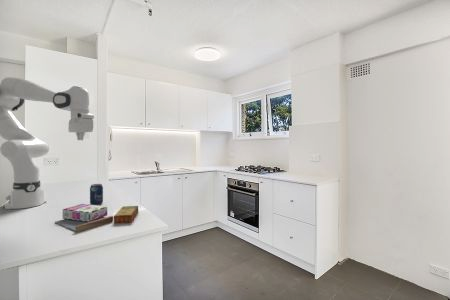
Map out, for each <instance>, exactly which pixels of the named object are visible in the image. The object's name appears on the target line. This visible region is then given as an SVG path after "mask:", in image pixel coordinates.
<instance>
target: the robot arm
mask: <svg viewBox="0 0 450 300" xmlns="http://www.w3.org/2000/svg"><path fill="white" fill-rule="evenodd" d="M25 101H32V102H43V103H45V102H46V103H52V104H53V105H54V107H55V108H56V109H60V110H62V111H63V110H64V111H68V112H70V119H69V121H68V130H67V131H68V133H75V136H76V137H77V138H76V139H77V141H84V137H85V134H86V133H92V132H94V119H95V115H94V114H92V113H90V107H89V106H90V95H89V91H88V89H86V88H83V87H80V86H74V85H73V86H72V87H70V88H69V89H67V90H64V91H58V92H55V91H52V90H50V89H48V88H45V87H44V86H41V85H40V84H37V83H35V82H33V81H31V80H27V79H23V78H19V77H15V76H14V77H9V76H8V77H7V76H6V77H4V78H3V79H2V80H1V81H0V137H1V138H2V139H4V140H6V141H4V142H3V143H2V144H1V145H0V154H1V155H2V156H3V157H4V158H6V160H8V161H9V162H10V164H11V166H12V169H13V183H12V190H11V192H10V193H9V194H8V195H6V196H5V200H6V202H4V203H3V206H4V208H5V210H12V209H13V210H14V209H15V210H17V209H26V208H32V207H33V208H34V207H38V206H40V205H41V206H42V205H43V204H46V203H47V202H48V200H47V199H45V196H44V195H45V194H44V189H43V188H41V180H40V168H39V167H38V165H36V164H35V163H34V162H33V159H36V158H40V157H44V156H46V155H48V153H49V151H50V146H49V145H48V143H47V142H45V141H43V140H41V139H39V138H38V137H36V136H35V135H33V134H32V133H31V132H30V131H28V130H27V129H26V128H25V127H24V126H23V125H22V124H21V122H20V121H19V120H18V119H17V118H16V116H15V115H14V113H13V112H12V111H14V112H16V111H18V109H19V108H21V107H22V106H23V105H24V103H25Z"/></svg>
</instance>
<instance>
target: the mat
mask: <svg viewBox="0 0 450 300" xmlns="http://www.w3.org/2000/svg"><path fill="white" fill-rule="evenodd" d="M102 218H106V216H104V217H102ZM102 218H99V219H102ZM99 219H96V220H99ZM96 220H94V221H96ZM91 222H92V221H91ZM54 223H55V224H56V223H57V224H56V225H58V226H61V227H64V228H65V227H66V229H67V230H70V231H73V232H75V226H78V225H82V224H85V223H89V222H83V221H77V220H69V219H63V218H62V219H61V220H57V221H54Z"/></svg>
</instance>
